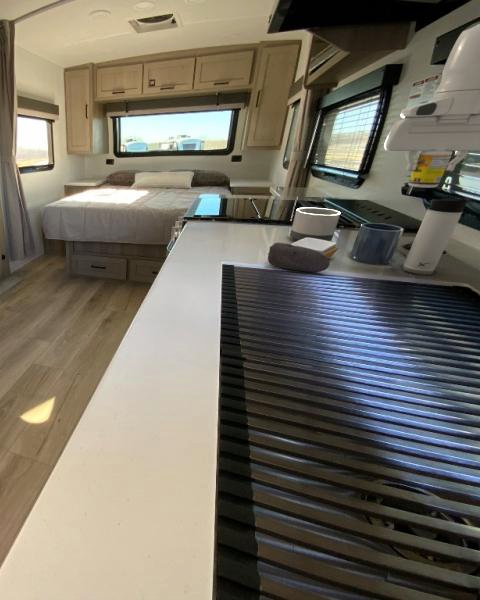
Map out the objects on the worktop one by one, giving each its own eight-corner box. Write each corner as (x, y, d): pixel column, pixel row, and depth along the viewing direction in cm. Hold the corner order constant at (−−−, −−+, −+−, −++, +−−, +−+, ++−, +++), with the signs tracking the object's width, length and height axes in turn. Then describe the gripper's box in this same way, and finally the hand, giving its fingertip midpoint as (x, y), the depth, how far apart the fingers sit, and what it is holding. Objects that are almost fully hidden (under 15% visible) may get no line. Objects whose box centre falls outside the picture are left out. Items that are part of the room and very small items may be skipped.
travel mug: (423, 277, 88) (460, 200, 79) (396, 268, 94) (427, 195, 85) (439, 274, 90) (477, 198, 81) (412, 266, 95) (444, 194, 86)
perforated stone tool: (327, 272, 93) (335, 248, 90) (325, 278, 89) (333, 253, 86) (268, 261, 101) (273, 239, 98) (264, 267, 97) (269, 244, 94)
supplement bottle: (404, 184, 87) (421, 141, 82) (432, 185, 84) (451, 141, 80) (411, 187, 82) (429, 142, 78) (441, 188, 80) (462, 141, 76)
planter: (280, 238, 123) (288, 209, 118) (304, 234, 127) (312, 206, 122) (314, 247, 112) (323, 216, 107) (339, 242, 116) (349, 212, 112)
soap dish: (301, 250, 110) (306, 235, 107) (335, 258, 102) (341, 242, 100) (283, 259, 103) (287, 243, 101) (318, 267, 96) (323, 250, 94)
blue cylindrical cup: (384, 256, 103) (397, 224, 98) (394, 266, 95) (409, 232, 91) (346, 252, 107) (357, 221, 102) (353, 262, 99) (365, 229, 95)
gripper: (510, 104, 74) (478, 170, 80) (394, 109, 82) (373, 169, 88) (529, 102, 69) (493, 173, 75) (403, 108, 77) (380, 171, 83)
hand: (428, 171), depth 82 cm, fingers closed on supplement bottle, 5 cm apart
